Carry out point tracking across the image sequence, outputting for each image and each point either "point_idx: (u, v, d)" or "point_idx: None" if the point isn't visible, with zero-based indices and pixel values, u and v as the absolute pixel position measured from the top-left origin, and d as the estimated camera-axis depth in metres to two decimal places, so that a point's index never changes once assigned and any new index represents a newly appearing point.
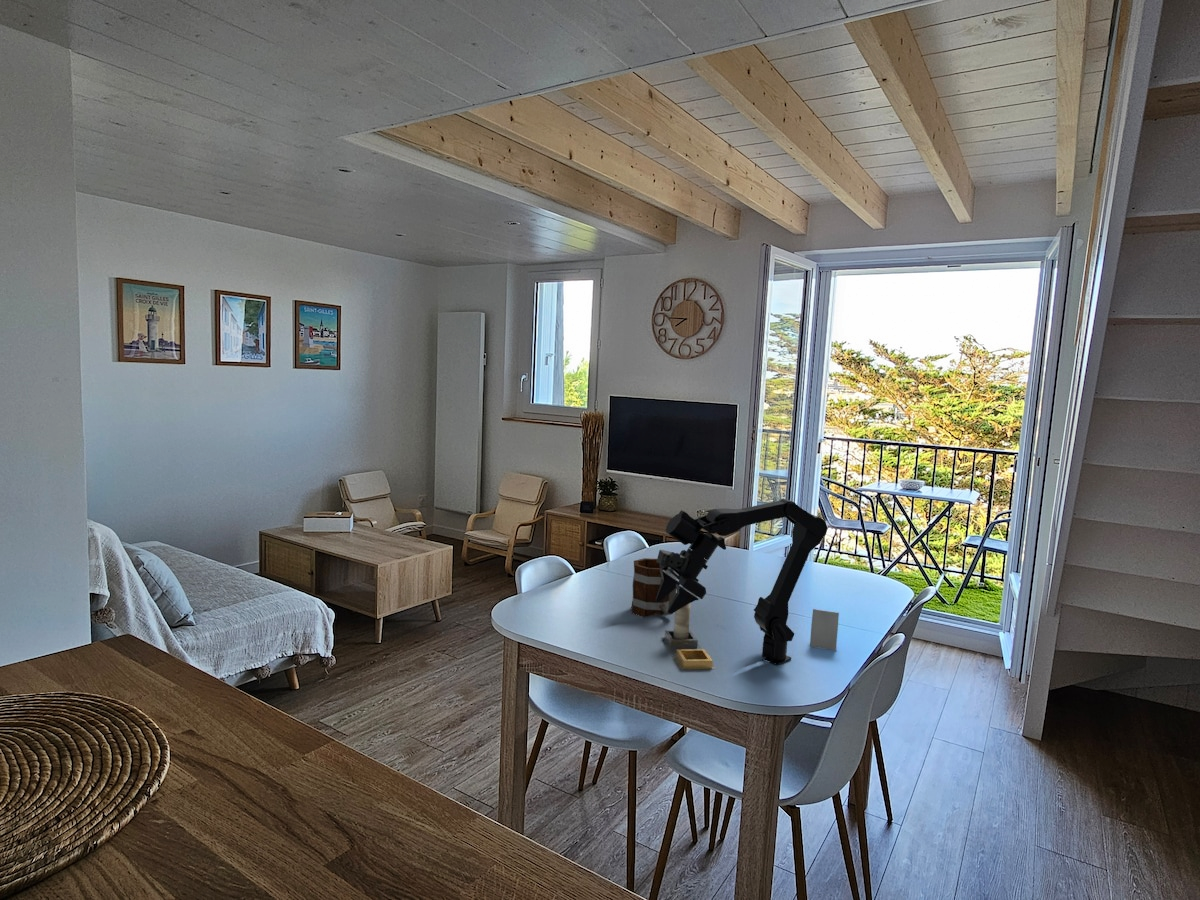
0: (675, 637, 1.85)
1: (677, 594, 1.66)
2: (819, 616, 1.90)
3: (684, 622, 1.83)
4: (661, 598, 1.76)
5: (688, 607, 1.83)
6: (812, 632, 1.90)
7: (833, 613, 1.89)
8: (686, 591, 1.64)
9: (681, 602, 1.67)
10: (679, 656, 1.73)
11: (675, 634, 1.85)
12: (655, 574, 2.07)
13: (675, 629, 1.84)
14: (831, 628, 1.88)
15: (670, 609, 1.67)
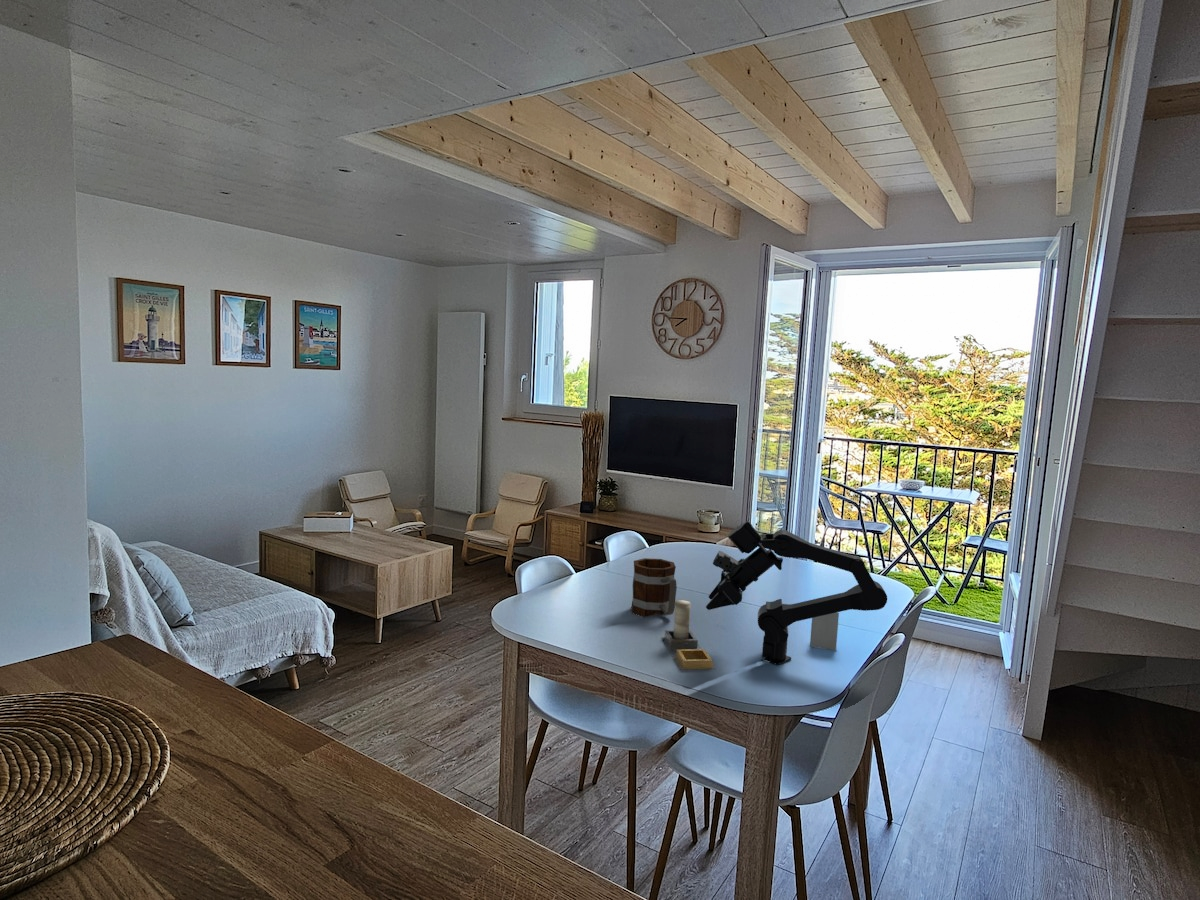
0: (675, 637, 1.85)
1: (717, 593, 1.77)
2: (819, 616, 1.90)
3: (684, 622, 1.83)
4: (713, 596, 1.87)
5: (688, 607, 1.83)
6: (812, 632, 1.90)
7: (833, 613, 1.89)
8: (723, 592, 1.74)
9: (719, 602, 1.77)
10: (679, 656, 1.73)
11: (675, 634, 1.85)
12: (655, 574, 2.07)
13: (675, 629, 1.84)
14: (831, 628, 1.88)
15: (708, 605, 1.78)
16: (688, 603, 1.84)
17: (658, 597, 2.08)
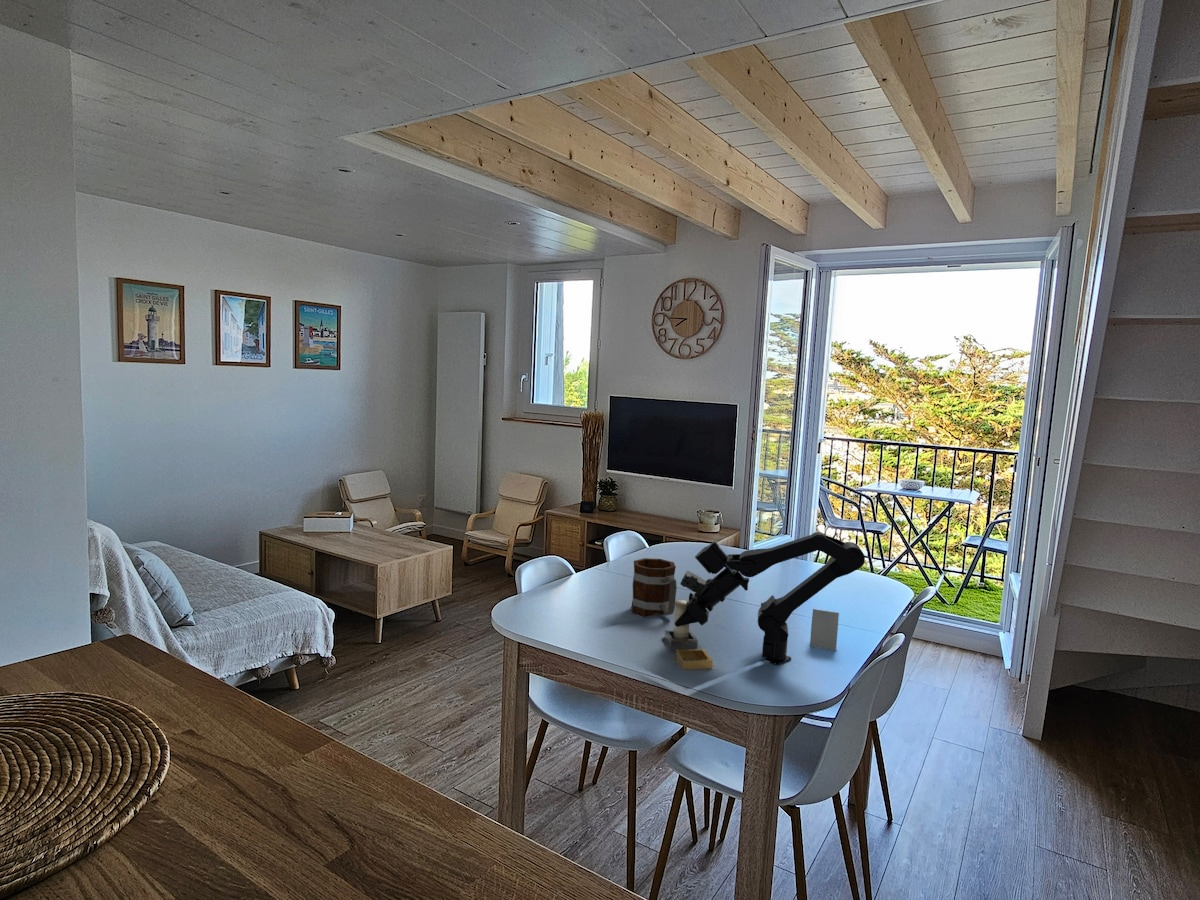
0: (675, 637, 1.85)
1: (685, 611, 1.81)
2: (819, 616, 1.90)
3: None
4: None
5: None
6: (812, 632, 1.90)
7: (833, 613, 1.89)
8: None
9: (687, 619, 1.81)
10: (679, 656, 1.73)
11: (675, 634, 1.85)
12: (655, 574, 2.07)
13: (675, 629, 1.84)
14: (831, 628, 1.88)
15: (676, 622, 1.83)
16: None
17: (658, 597, 2.08)
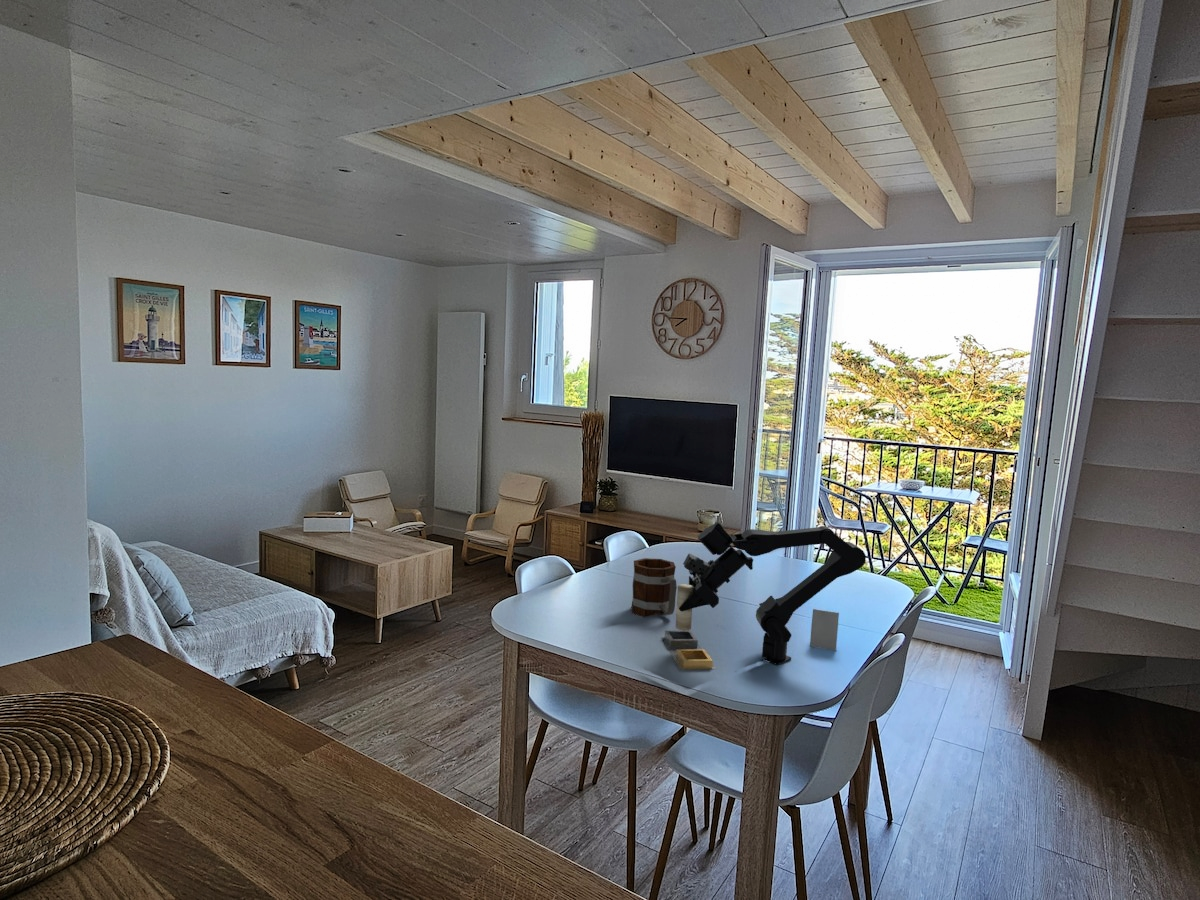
0: (679, 622, 1.79)
1: (690, 594, 1.76)
2: (819, 616, 1.90)
3: None
4: None
5: None
6: (812, 632, 1.90)
7: (833, 613, 1.89)
8: (698, 593, 1.74)
9: (693, 603, 1.76)
10: (679, 656, 1.73)
11: (679, 619, 1.79)
12: (655, 574, 2.07)
13: (679, 614, 1.79)
14: (831, 628, 1.88)
15: (681, 607, 1.77)
16: (691, 586, 1.79)
17: (658, 597, 2.08)
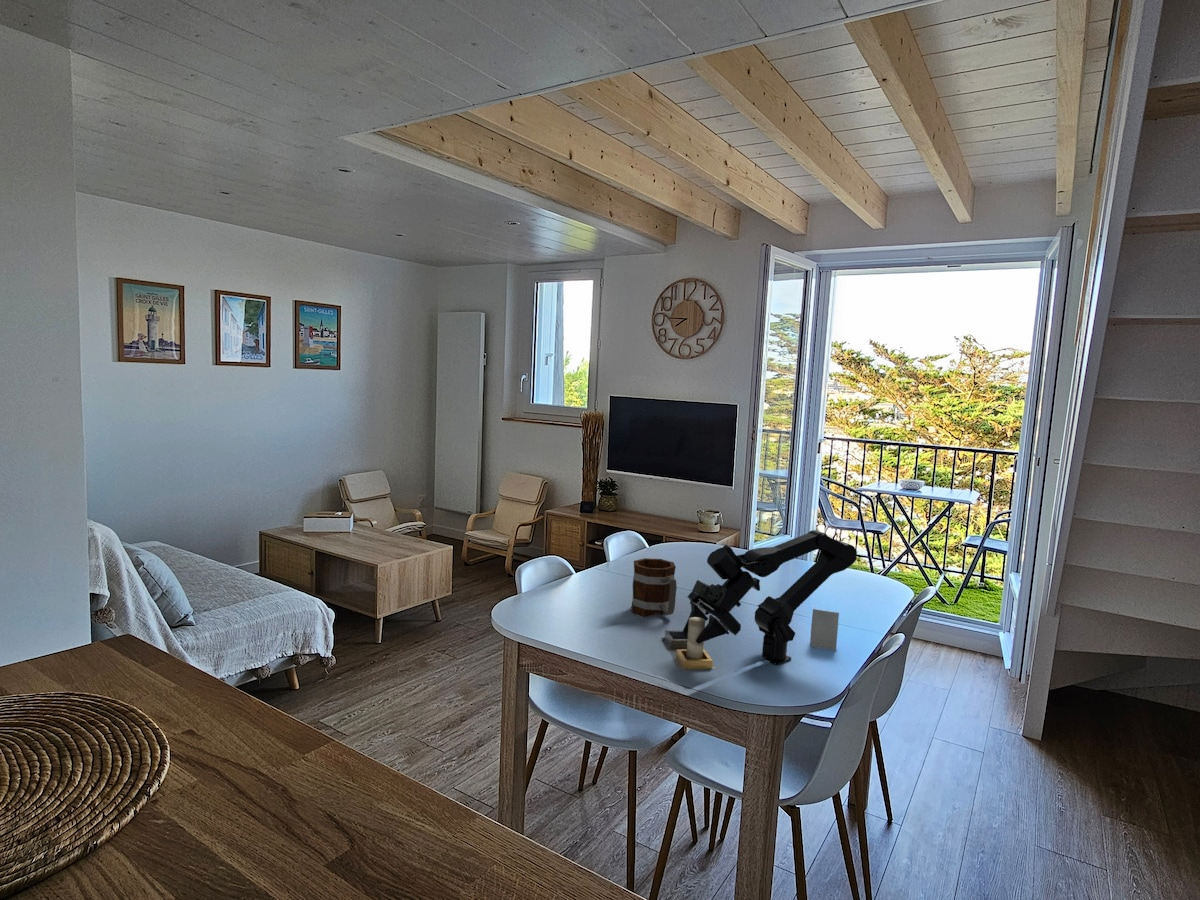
0: (692, 658, 1.71)
1: (709, 625, 1.68)
2: (819, 616, 1.90)
3: None
4: None
5: (704, 624, 1.71)
6: (812, 632, 1.90)
7: (833, 613, 1.89)
8: (720, 623, 1.66)
9: (711, 633, 1.68)
10: (679, 656, 1.73)
11: (692, 655, 1.71)
12: (655, 574, 2.07)
13: (692, 650, 1.71)
14: (831, 628, 1.88)
15: (699, 639, 1.68)
16: (702, 619, 1.72)
17: (658, 597, 2.08)
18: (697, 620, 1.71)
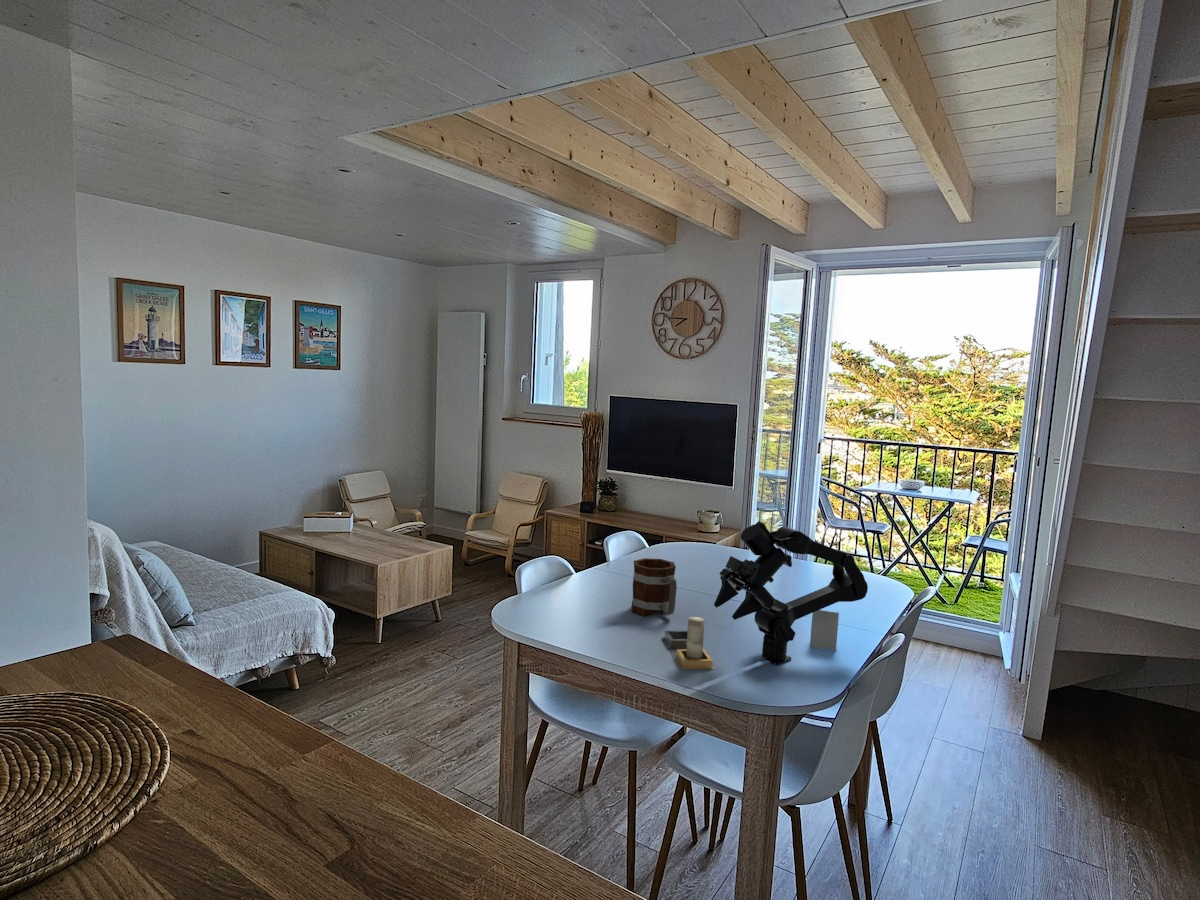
0: (692, 658, 1.71)
1: (745, 601, 1.69)
2: (819, 616, 1.90)
3: (701, 640, 1.71)
4: (719, 604, 1.78)
5: None
6: (812, 632, 1.90)
7: (833, 613, 1.89)
8: (756, 599, 1.67)
9: (747, 609, 1.69)
10: (679, 656, 1.73)
11: (692, 655, 1.71)
12: (655, 574, 2.07)
13: (692, 649, 1.71)
14: (831, 628, 1.88)
15: (735, 614, 1.69)
16: (702, 619, 1.72)
17: (658, 597, 2.08)
18: (696, 620, 1.71)
